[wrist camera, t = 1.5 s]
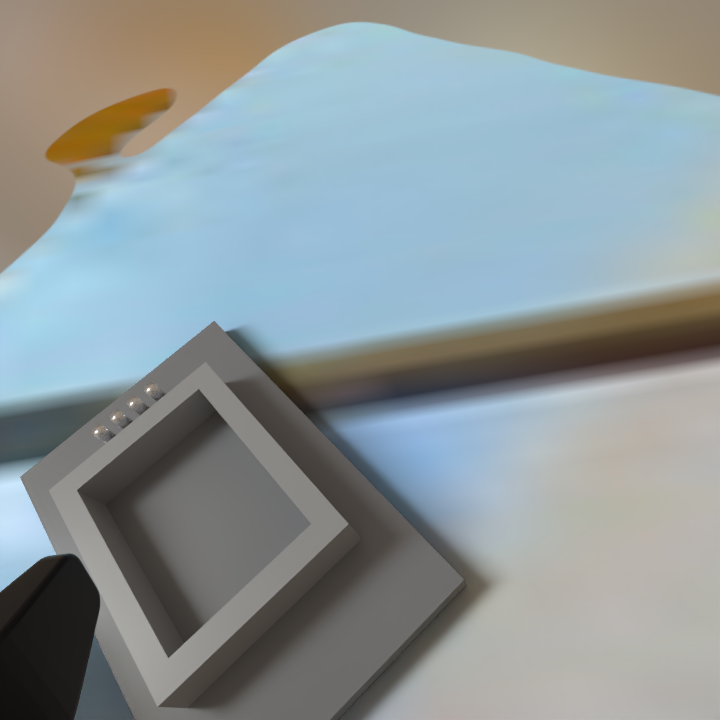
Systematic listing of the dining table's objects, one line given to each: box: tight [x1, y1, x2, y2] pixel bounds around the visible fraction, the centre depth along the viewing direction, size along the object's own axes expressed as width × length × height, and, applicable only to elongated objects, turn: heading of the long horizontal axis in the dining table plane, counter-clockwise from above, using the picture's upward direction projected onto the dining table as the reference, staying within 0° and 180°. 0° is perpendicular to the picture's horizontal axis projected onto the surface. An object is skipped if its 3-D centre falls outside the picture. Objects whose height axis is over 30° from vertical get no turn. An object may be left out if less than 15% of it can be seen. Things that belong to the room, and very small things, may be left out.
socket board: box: [20, 321, 466, 720], centre depth 23 cm, size 12×18×3 cm, turn 41°
